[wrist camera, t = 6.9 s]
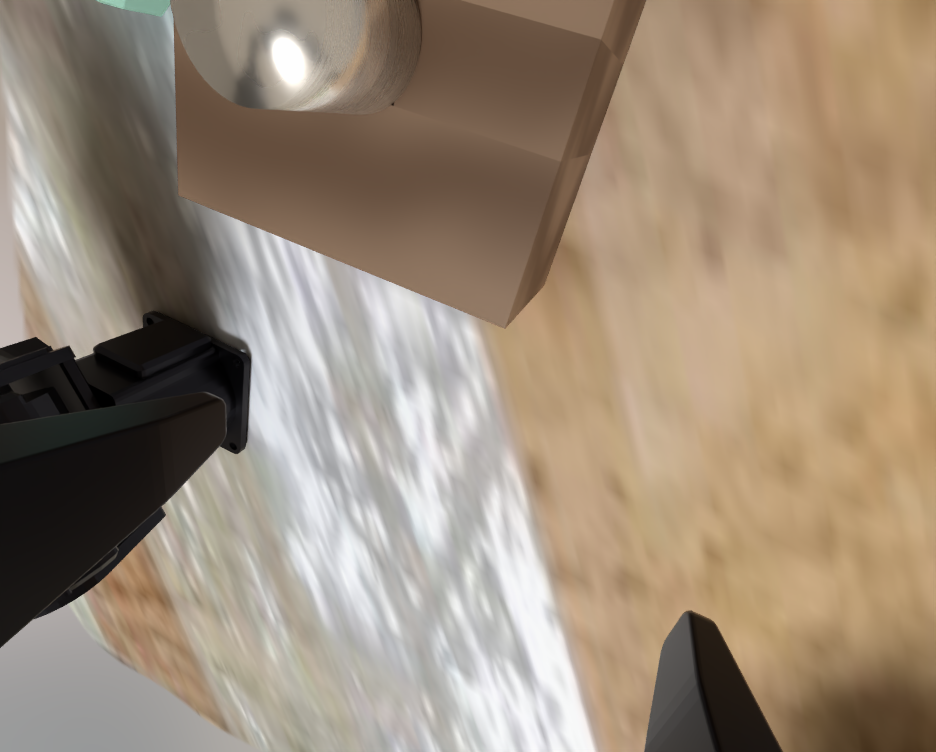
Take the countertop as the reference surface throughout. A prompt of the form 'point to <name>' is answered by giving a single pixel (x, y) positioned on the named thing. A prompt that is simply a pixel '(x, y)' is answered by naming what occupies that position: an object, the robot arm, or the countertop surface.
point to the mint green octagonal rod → (140, 5)
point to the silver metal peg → (303, 51)
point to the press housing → (428, 152)
